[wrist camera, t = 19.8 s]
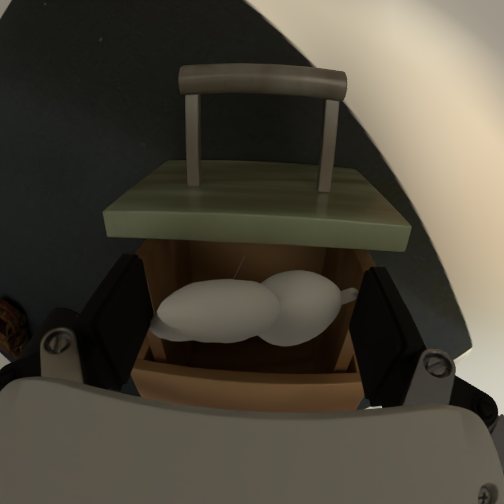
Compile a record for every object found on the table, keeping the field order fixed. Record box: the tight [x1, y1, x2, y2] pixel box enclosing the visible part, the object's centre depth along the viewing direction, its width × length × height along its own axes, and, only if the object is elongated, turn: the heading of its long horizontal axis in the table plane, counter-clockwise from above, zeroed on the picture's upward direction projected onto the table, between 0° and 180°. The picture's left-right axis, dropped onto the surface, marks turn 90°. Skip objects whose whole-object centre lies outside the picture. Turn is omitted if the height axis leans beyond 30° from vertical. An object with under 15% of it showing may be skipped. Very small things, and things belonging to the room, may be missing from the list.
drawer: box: [103, 63, 411, 374], centre depth 17 cm, size 20×12×9 cm, turn 178°
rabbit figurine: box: [149, 256, 358, 346], centre depth 11 cm, size 6×4×8 cm
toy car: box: [0, 298, 29, 359], centre depth 28 cm, size 12×7×5 cm, turn 155°
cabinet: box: [131, 334, 364, 412], centre depth 23 cm, size 16×14×11 cm
